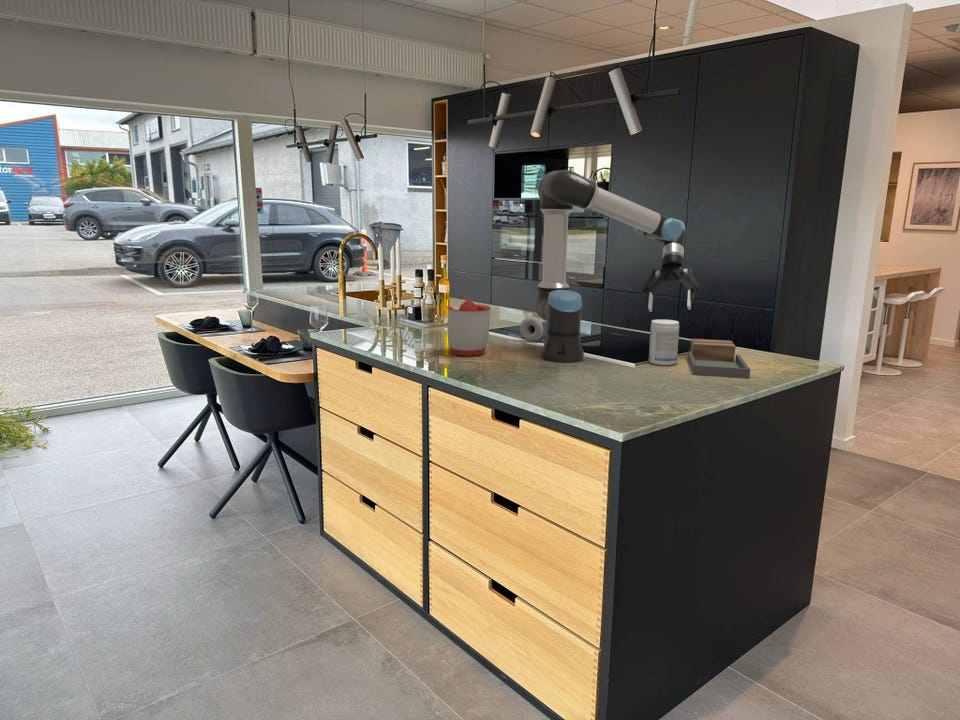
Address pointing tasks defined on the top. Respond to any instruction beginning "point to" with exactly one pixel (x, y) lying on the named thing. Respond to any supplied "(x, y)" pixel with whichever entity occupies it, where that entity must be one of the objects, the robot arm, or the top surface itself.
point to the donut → (537, 326)
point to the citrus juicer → (468, 328)
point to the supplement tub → (664, 342)
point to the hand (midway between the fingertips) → (669, 309)
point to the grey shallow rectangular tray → (719, 367)
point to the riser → (713, 350)
